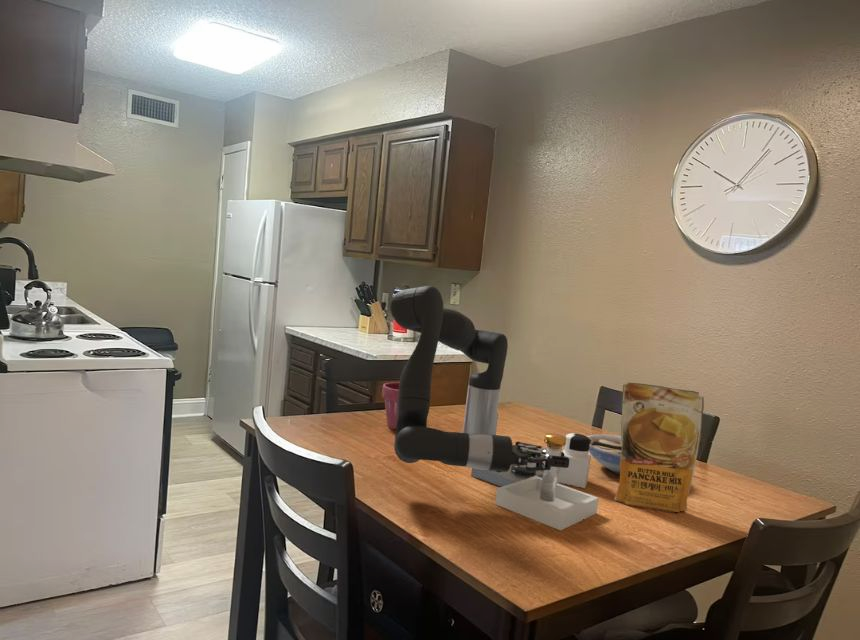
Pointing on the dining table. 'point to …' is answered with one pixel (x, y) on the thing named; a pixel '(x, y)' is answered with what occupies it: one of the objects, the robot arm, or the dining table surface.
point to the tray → (547, 503)
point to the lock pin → (551, 475)
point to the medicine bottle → (576, 461)
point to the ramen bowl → (606, 451)
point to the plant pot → (391, 403)
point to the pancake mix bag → (658, 446)
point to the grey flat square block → (505, 475)
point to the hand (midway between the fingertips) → (565, 459)
